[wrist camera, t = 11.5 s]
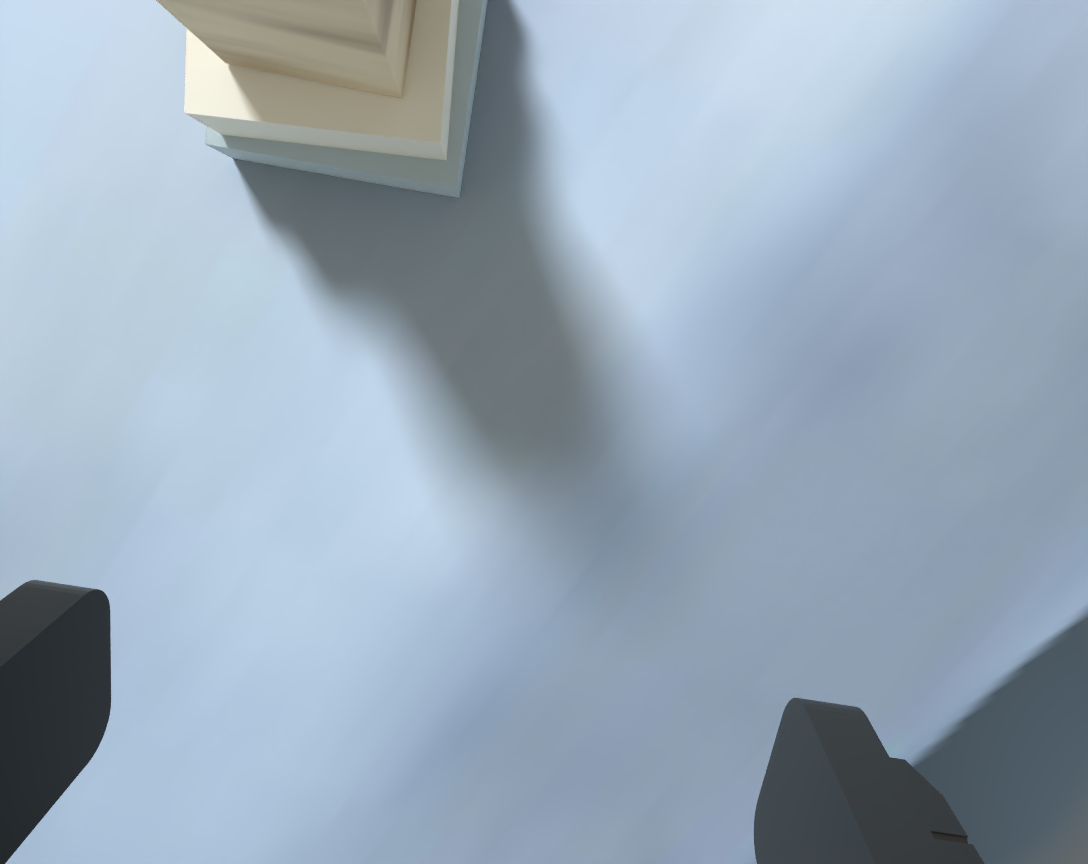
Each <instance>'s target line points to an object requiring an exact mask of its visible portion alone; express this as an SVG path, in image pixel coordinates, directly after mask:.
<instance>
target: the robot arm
mask: <svg viewBox="0 0 1088 864" xmlns="http://www.w3.org/2000/svg"><path fill="white" fill-rule="evenodd" d="M110 708H111V651H110V605H109V600H108V598H107V596H106V594H105V593H104V592H103V591H101V590H98V589H91V588H85V587H78V586H71V585H65V584H58V583H52V582H45V581H39V580H31V581H28V582H26V583H24V584H23V585H21V586H20V587H18V588H17V589H16V590H14V591H13V592H11V593H10V594H9V595H7V596H6V597H5V598H3V599H2V600H1V601H0V864H5V863H6V862H7V861H8V859H9V858H10V857H11V856H12V854H13V853H14V852H15V851H16V850H17V848H18V847H19V846H20V845H21V844H22V842H23V841H24V840H25V839H26V837H27V836H28V835H29V834H30V833H31V831H32V830H33V829H34V828H35V827H36V825H37V824H38V823H39V822H40V821H41V819H42V818H43V817H44V816H45V814H46V813H47V812H48V811H49V810H50V808H51V807H52V806H53V805H54V804H55V802H56V801H57V800H58V799H59V797H60V796H61V795H62V794H63V793H64V791H65V790H66V789H67V788H68V787H69V785H70V784H71V783H72V782H73V781H74V779H75V778H76V777H77V776H78V774H79V773H80V772H81V771H82V770H83V768H84V767H85V766H86V765H87V764H88V762H89V761H90V760H91V758H92V757H93V755H94V754H95V752H96V750H97V748H98V746H99V744H100V742H101V740H102V738H103V735H104V732H105V730H106V727H107V723H108V719H109V715H110ZM967 837H968V836H967V834H966V833H965V831H964V829H963V828H962V826H961V825H960V823H959V822H958V820H957V818H956V816H955V815H954V813H953V811H952V810H951V808H950V806H949V805H948V803H947V802H946V800H945V798H944V797H943V796H942V795H941V794H940V793H939V792H938V791H937V790H936V789H935V788H934V787H933V786H932V785H931V784H930V783H929V782H928V781H927V780H926V779H925V778H924V777H922V776H921V775H920V774H919V773H918V772H917V771H916V770H915V769H914V768H913V767H912V766H911V765H910V764H909V763H908V762H907V761H906V760H903V759H897V758H890V757H889V756H888V754H887V752H886V750H885V749H884V747H883V745H882V743H881V741H880V740H879V738H878V736H877V734H876V732H875V731H874V729H873V727H872V725H871V723H870V722H869V720H868V718H867V716H866V715H865V713H864V712H863V711H862V710H861V709H860V708H858V707H853V706H846V705H840V704H833V703H827V702H820V701H814V700H807V699H800V698H793V699H791V700H790V701H789V702H788V704H787V705H786V708H785V710H784V712H783V715H782V719H781V722H780V726H779V729H778V732H777V736H776V739H775V743H774V746H773V750H772V753H771V756H770V760H769V763H768V767H767V770H766V774H765V777H764V780H763V784H762V787H761V791H760V794H759V798H758V801H757V805H756V811H755V819H754V846H755V855H756V860H757V864H984V862H983V861H982V859H981V857H980V856H979V854H978V853H977V851H976V849H975V848H974V846H973V845H972V844H968V842H967Z"/></svg>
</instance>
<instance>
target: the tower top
mask: <svg viewBox="0 0 1088 864" xmlns="http://www.w3.org/2000/svg"><path fill="white" fill-rule="evenodd" d="M458 10H459V0H417V1H416V8H415V15H414V23H413V30H412V37H411V44H410V51H409V58H408V66H407V73H406V80H405V87H404V94H403V98H398V97H393V96H388V95H383V94H378V93H373V92H368V91H363V90H358V89H353V88H348V87H343V86H338V85H333V84H328V83H323V82H318V81H313V80H308V79H302V78H297V77H292V76H287V75H282V74H277V73H272V72H267V71H262V70H257V69H252V68H247V67H242V66H237V65H232V64H227V63H225V62H224V61H223V60H221V59H220V58H219V57H218V56H217V55H216V54H215V53H214V52H213V51H212V50H210V49H209V48H208V47H207V46H206V45H205V44H204V43H203V42H202V41H201V40H199V39H198V38H197V37H196V36H195V35H194V34H193V33H192V32H191V31H189V30H188V29H187V35H186V72H185V109H184V113H185V114H187V115H189V116H191V117H192V118H194V119H196V120H197V121H199V122H201V123H203V124H204V125H206V126H208V127H209V128H211V129H213V130H214V131H216V132H218V133H220V134H221V135H229V136H237V137H246V138H255V139H263V140H272V141H281V142H289V143H298V144H307V145H315V146H324V147H333V148H341V149H350V150H359V151H367V152H376V153H385V154H393V155H402V156H411V157H419V158H428V159H437V160H445V161H447V150H448V137H449V124H450V112H451V99H452V86H453V73H454V61H455V48H456V35H457V22H458Z"/></svg>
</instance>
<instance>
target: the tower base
mask: <svg viewBox="0 0 1088 864" xmlns="http://www.w3.org/2000/svg"><path fill="white" fill-rule="evenodd" d="M487 3H488V0H459V10H458V22H457V35H456V48H455V61H454V73H453V86H452V99H451V112H450V124H449V137H448V150H447V161H445V160H437V159H428V158H419V157H411V156H402V155H393V154H385V153H376V152H367V151H359V150H350V149H341V148H333V147H324V146H315V145H307V144H298V143H289V142H281V141H272V140H263V139H255V138H246V137H237V136H229V135H221V134H220V133H218V132H216V131H214V130H213V129H211V128H209V127H208V126H207V128H206V139H205V144H206V145H208V146H210V147H212V148H214V149H216V150H218V151H220V152H221V153H223V154H225V155H227V156H229V157H231V158H233V159H239V160H245V161H250V162H256V163H262V164H267V165H273V166H279V167H284V168H290V169H296V170H301V171H307V172H313V173H318V174H324V175H330V176H336V177H341V178H347V179H353V180H358V181H364V182H370V183H375V184H381V185H387V186H392V187H398V188H404V189H409V190H415V191H421V192H426V193H432V194H438V195H443V196H449V197H455V198H460V192H461V185H462V178H463V171H464V164H465V157H466V150H467V143H468V136H469V129H470V122H471V115H472V108H473V101H474V94H475V87H476V80H477V73H478V66H479V59H480V52H481V45H482V38H483V31H484V24H485V17H486V10H487Z"/></svg>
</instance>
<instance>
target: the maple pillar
mask: <svg viewBox="0 0 1088 864" xmlns="http://www.w3.org/2000/svg"><path fill="white" fill-rule="evenodd" d="M156 1H158V2H159V3H160V4H161V5H162V6H163V7H164V8H165V9H166V10H167V11H169V12H170V13H171V14H172V15H173V16H174V17H175V18H176V19H177V20H178V21H180V22H181V23H182V24H183V25H184V26H185V27H186V28H187V29H188V30H189V31H191V32H192V33H193V34H194V35H195V36H196V37H197V38H198V39H199V40H201V41H202V42H203V43H204V44H205V45H206V46H207V47H208V48H209V49H210V50H212V51H213V52H214V53H215V54H216V55H217V56H218V57H219V58H220V59H221V60H223V61H224V62H225V63H227V64H232V65H237V66H242V67H247V68H252V69H257V70H262V71H267V72H272V73H277V74H282V75H287V76H292V77H297V78H302V79H308V80H313V81H318V82H323V83H328V84H333V85H338V86H343V87H348V88H353V89H358V90H363V91H368V92H373V93H378V94H383V95H388V96H393V97H398V98H403V94H404V87H405V80H406V73H407V66H408V58H409V51H410V44H411V37H412V30H413V23H414V15H415V8H416V1H417V0H156Z"/></svg>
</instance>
